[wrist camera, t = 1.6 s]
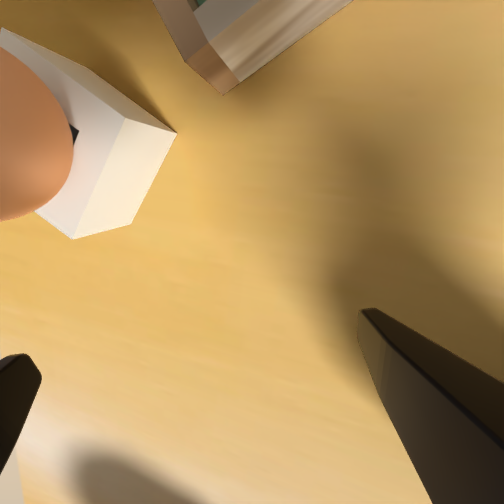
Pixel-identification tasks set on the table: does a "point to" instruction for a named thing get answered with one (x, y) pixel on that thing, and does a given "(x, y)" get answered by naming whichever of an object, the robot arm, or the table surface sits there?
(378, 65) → the table surface
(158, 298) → the table surface
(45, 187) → the ball
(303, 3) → the wooden crate
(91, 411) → the table surface
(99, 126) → the white square holder
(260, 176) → the table surface
